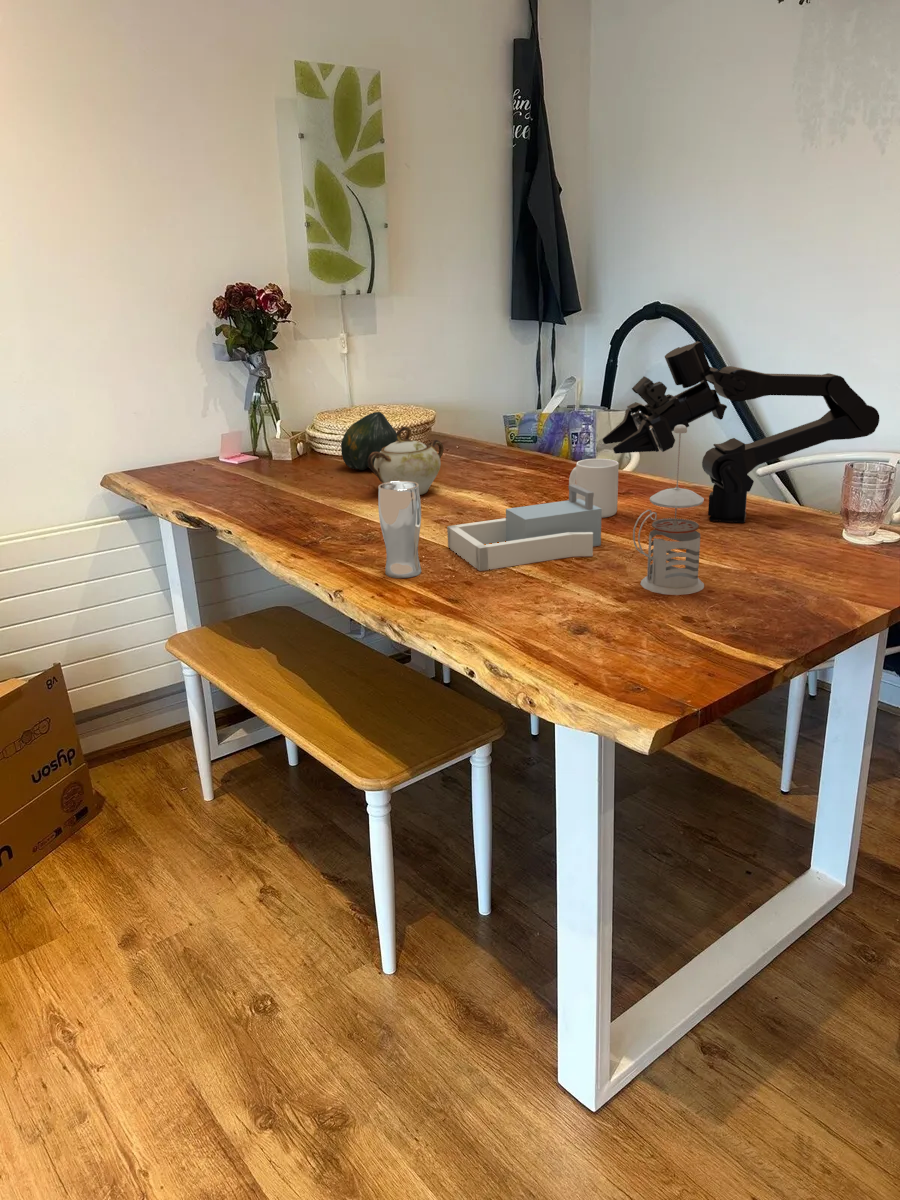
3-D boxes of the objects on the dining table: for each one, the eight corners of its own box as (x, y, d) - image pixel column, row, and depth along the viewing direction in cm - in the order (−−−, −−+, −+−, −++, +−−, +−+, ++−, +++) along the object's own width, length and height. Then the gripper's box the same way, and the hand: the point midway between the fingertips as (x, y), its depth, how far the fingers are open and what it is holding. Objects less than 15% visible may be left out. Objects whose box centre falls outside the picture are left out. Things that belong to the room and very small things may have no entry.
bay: (548, 530, 172) (548, 509, 171) (595, 555, 156) (595, 533, 155) (445, 545, 165) (444, 524, 164) (483, 573, 150) (482, 550, 148)
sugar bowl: (388, 506, 194) (384, 436, 189) (354, 493, 205) (349, 427, 200) (462, 491, 204) (460, 424, 199) (426, 480, 216) (423, 417, 210)
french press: (717, 589, 139) (728, 426, 130) (648, 599, 136) (656, 433, 127) (683, 570, 147) (692, 417, 139) (619, 579, 145) (624, 423, 136)
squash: (324, 446, 231) (345, 405, 221) (370, 440, 241) (393, 400, 230) (350, 489, 227) (373, 449, 216) (396, 480, 237) (420, 442, 226)
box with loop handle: (579, 535, 169) (579, 482, 166) (600, 546, 162) (602, 492, 159) (506, 546, 164) (505, 492, 161) (525, 558, 157) (525, 502, 154)
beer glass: (375, 577, 150) (369, 489, 145) (393, 564, 156) (387, 479, 151) (414, 581, 147) (409, 491, 142) (430, 567, 154) (426, 481, 148)
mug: (555, 509, 187) (555, 459, 183) (585, 502, 191) (585, 454, 187) (595, 520, 177) (596, 469, 174) (625, 513, 182) (627, 462, 178)
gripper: (655, 362, 174) (582, 400, 175) (684, 374, 156) (601, 415, 158) (676, 414, 177) (604, 451, 179) (706, 431, 160) (626, 471, 162)
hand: (608, 446), depth 169 cm, fingers open, 9 cm apart
